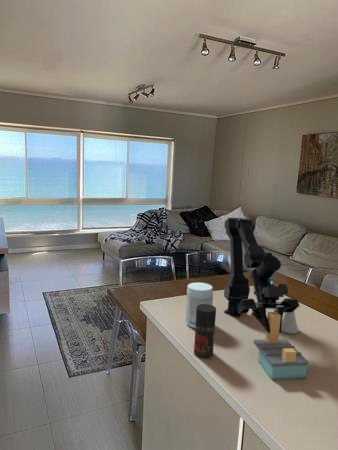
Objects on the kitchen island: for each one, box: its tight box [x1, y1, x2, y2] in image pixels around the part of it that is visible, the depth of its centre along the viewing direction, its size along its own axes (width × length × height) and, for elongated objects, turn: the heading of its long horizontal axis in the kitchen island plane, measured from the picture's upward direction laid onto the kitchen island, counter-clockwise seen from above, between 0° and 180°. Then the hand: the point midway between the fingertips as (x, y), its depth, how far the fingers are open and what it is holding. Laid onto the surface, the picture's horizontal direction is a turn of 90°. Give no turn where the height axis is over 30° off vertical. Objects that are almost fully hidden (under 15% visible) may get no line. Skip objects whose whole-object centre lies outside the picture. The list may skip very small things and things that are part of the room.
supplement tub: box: [185, 282, 214, 329], centre depth 122 cm, size 10×10×15 cm
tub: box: [257, 350, 308, 381], centre depth 96 cm, size 9×10×4 cm
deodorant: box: [193, 304, 217, 360], centre depth 102 cm, size 6×6×15 cm
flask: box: [281, 310, 300, 335], centre depth 121 cm, size 7×7×10 cm
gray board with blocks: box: [253, 311, 309, 367], centre depth 96 cm, size 13×11×10 cm
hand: (274, 332), depth 100 cm, fingers closed on gray board with blocks, 3 cm apart
